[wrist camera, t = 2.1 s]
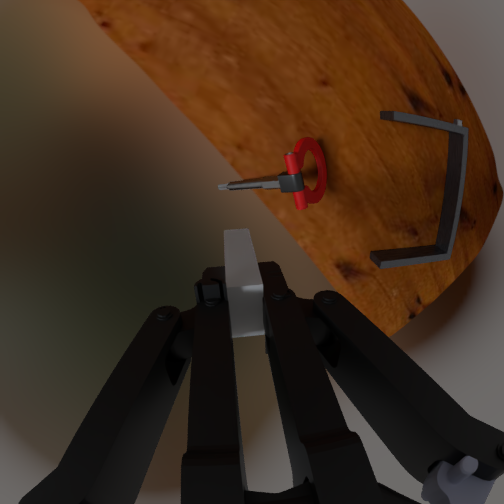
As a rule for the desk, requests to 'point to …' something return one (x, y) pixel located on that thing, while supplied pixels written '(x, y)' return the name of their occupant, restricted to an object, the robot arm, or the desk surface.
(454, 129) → the bracket
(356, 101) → the desk surface
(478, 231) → the desk surface
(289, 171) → the tow hook
